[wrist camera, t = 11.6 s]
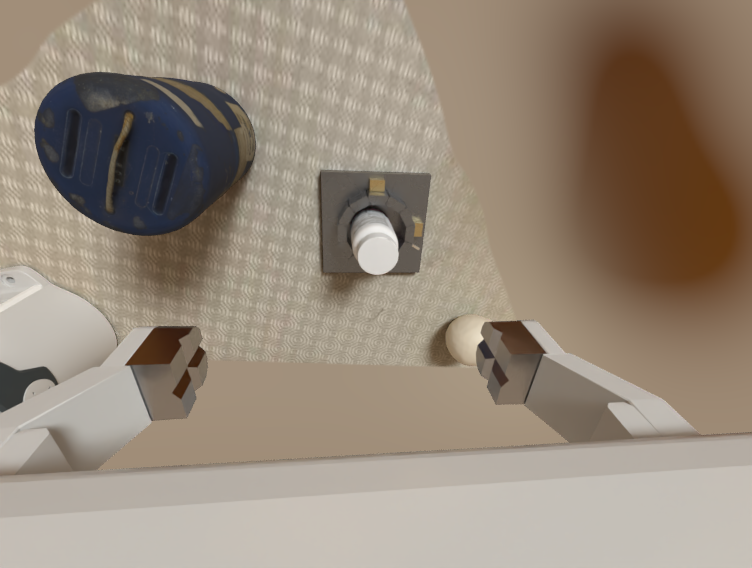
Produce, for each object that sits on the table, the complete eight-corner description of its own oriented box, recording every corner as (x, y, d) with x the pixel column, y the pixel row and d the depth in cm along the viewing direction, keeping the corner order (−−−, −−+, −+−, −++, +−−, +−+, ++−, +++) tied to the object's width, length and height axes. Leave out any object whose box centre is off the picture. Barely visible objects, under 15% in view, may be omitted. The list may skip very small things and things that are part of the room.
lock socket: (323, 268, 43) (322, 282, 40) (321, 169, 37) (319, 176, 34) (417, 268, 44) (423, 281, 41) (428, 173, 39) (436, 180, 36)
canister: (141, 139, 34) (-24, 176, 19) (189, 55, 31) (44, 17, 16) (227, 201, 38) (151, 276, 22) (278, 132, 35) (230, 162, 20)
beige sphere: (494, 331, 51) (514, 362, 45) (448, 350, 52) (462, 382, 46) (482, 296, 48) (503, 325, 42) (433, 317, 49) (447, 347, 43)
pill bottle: (388, 247, 42) (399, 280, 34) (348, 244, 41) (351, 278, 34) (393, 208, 39) (405, 235, 32) (351, 205, 39) (354, 232, 31)
